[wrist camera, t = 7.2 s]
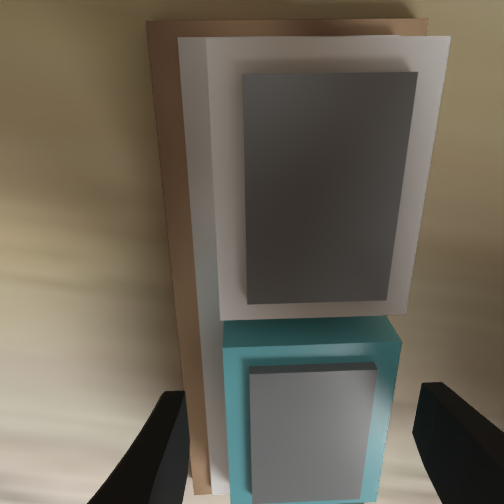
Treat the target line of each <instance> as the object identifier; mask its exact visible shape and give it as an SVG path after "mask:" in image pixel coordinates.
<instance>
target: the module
mask: <svg viewBox="0 0 504 504" xmlns="http://www.w3.org/2000/svg"><path fill="white" fill-rule="evenodd" d="M401 345H402V341H401V339H400V337H399V336H398V334H397V333H396V331H395V330H394V328H393V326H392V325H391V323H390V322H389V320H388V318H387V317H386V315H385V316H353V317H321V318H289V319H257V320H225V321H224V325H223V346H222V349H223V368H224V387H225V406H226V425H227V443H228V462H229V481H230V500H231V504H342V503H363V502H376V500H377V494H378V488H379V481H380V475H381V469H382V463H383V457H384V451H385V444H386V438H387V432H388V426H389V420H390V413H391V407H392V401H393V395H394V389H395V382H396V376H397V370H398V364H399V358H400V351H401Z"/></svg>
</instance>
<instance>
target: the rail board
mask: <svg viewBox="0 0 504 504" xmlns="http://www.w3.org/2000/svg"><path fill="white" fill-rule="evenodd" d="M427 24H428V18H414V19H299V20H185V21H146V28H147V37H148V47H149V57H150V67H151V77H152V86H153V96H154V106H155V116H156V126H157V135H158V145H159V155H160V165H161V175H162V184H163V194H164V204H165V214H166V224H167V234H168V243H169V253H170V263H171V273H172V283H173V292H174V302H175V312H176V322H177V332H178V341H179V351H180V361H181V371H182V381H183V390H184V391H185V394H186V404H187V414H188V424H189V434H190V459H191V469H192V479H193V489H194V495H205V494H212V495H222V494H230V481H229V462H228V443H227V425H226V406H225V387H224V368H223V349H222V346H223V325H224V321H225V320H257V319H289V318H321V317H353V316H385V315H406V310H407V304H408V298H409V292H410V286H411V280H412V273H413V267H414V261H415V255H416V249H417V243H418V237H419V231H420V225H421V218H422V212H423V206H424V200H425V194H426V188H427V182H428V176H429V170H430V163H431V157H432V151H433V145H434V139H435V133H436V127H437V121H438V115H439V108H440V102H441V96H442V90H443V84H444V78H445V72H446V66H447V59H448V53H449V47H450V41H451V36H426V31H427ZM342 504H364V502H363V503H342Z"/></svg>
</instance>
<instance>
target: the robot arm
mask: <svg viewBox="0 0 504 504" xmlns="http://www.w3.org/2000/svg"><path fill="white" fill-rule="evenodd" d="M412 434H413V437H414V439H415V442H416V445H417V448H418V451H419V454H420V457H421V459H422V462H423V465H424V467H425V469H426V471H427V473H428V476H429V478H430V480H431V482H432V484H433V486H434V488H435V490H436V492H437V494H438V496H439V498H440V500H441V502H442V504H504V432H502V431H501V430H500V429H499V428H497V427H496V426H495V425H494V424H492V423H491V422H490V421H489V420H487V419H486V418H485V417H484V416H483V415H481V414H480V413H479V412H478V411H476V410H475V409H474V408H473V407H472V406H470V405H469V404H468V403H467V402H466V401H464V400H463V399H462V398H461V397H460V396H458V395H457V394H456V393H455V392H454V391H452V390H451V389H450V388H449V387H447V386H446V385H445V384H443V383H442V382H432V383H422V385H421V390H420V396H419V401H418V406H417V411H416V416H415V421H414V426H413V431H412ZM189 449H190V434H189V424H188V414H187V404H186V394H185V391H165V392H164V393H163V394H162V395H161V396H160V398H159V400H158V402H157V404H156V406H155V408H154V409H153V411H152V413H151V415H150V416H149V418H148V420H147V421H146V423H145V425H144V426H143V428H142V430H141V431H140V433H139V434H138V436H137V437H136V439H135V440H134V442H133V443H132V445H131V446H130V448H129V449H128V451H127V452H126V454H125V455H124V457H123V458H122V459H121V461H120V462H119V463H118V465H117V466H116V467H115V469H114V470H113V472H112V473H111V474H110V476H109V477H108V478H107V480H106V481H105V482H104V483H103V485H102V486H101V487H100V489H99V490H98V491H97V492H96V494H95V495H94V496H93V497H92V498H91V500H90V501H89V502H88V503H87V504H182V501H183V496H184V491H185V485H186V480H187V473H188V462H189Z"/></svg>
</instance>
